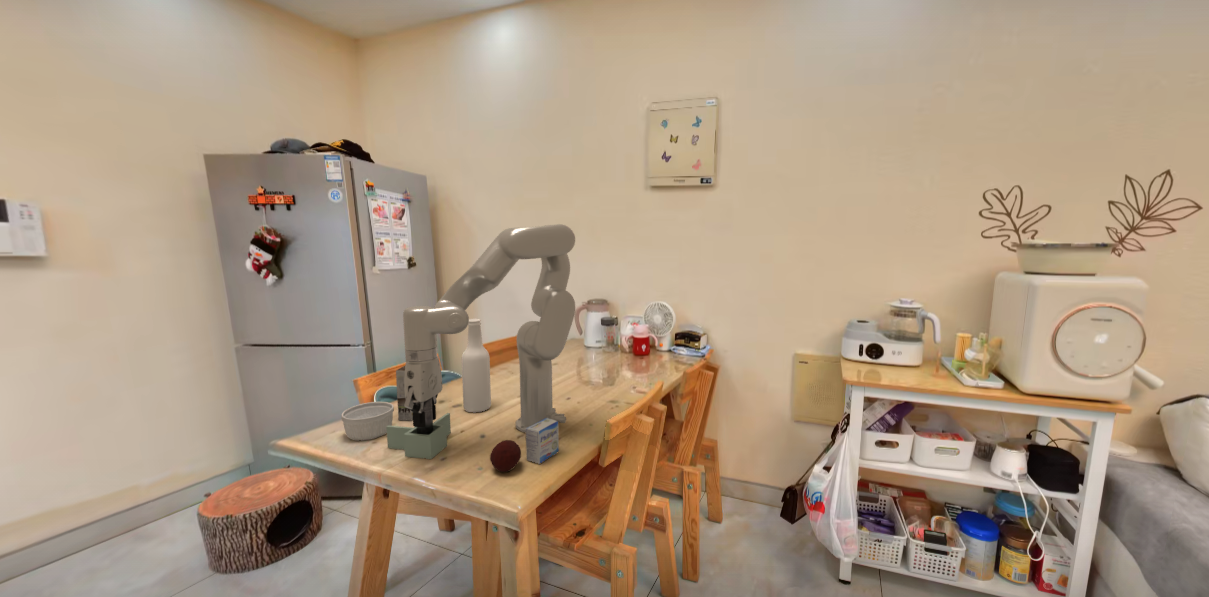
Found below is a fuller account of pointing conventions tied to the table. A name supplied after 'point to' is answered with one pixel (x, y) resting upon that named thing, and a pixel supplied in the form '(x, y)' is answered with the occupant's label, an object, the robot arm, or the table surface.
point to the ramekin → (367, 420)
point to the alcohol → (476, 371)
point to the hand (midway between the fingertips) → (424, 422)
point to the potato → (505, 455)
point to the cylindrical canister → (427, 418)
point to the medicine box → (542, 440)
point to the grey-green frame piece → (420, 439)
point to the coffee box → (402, 396)
